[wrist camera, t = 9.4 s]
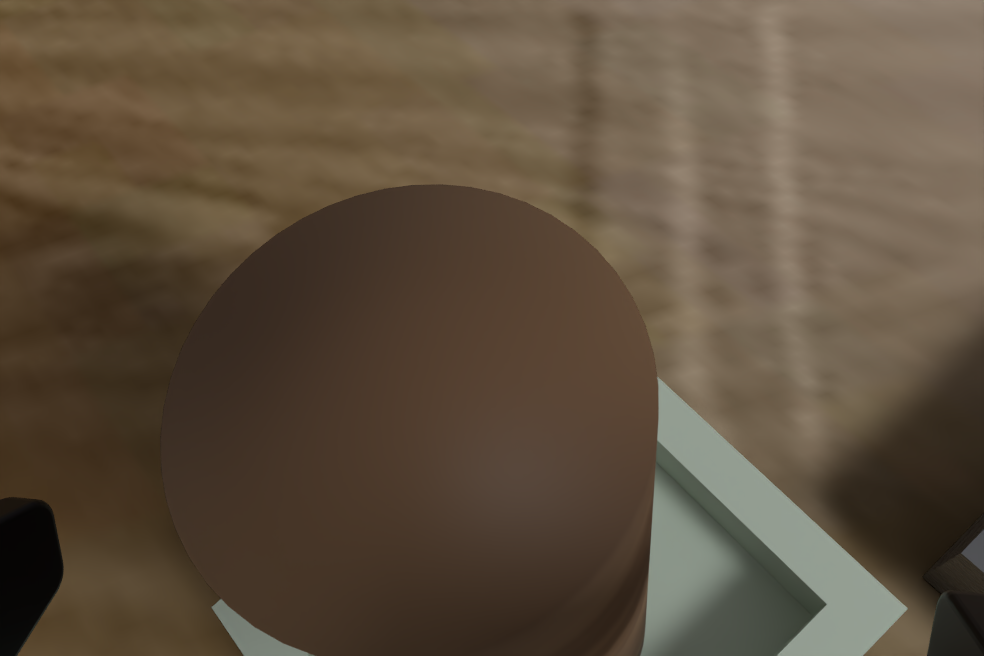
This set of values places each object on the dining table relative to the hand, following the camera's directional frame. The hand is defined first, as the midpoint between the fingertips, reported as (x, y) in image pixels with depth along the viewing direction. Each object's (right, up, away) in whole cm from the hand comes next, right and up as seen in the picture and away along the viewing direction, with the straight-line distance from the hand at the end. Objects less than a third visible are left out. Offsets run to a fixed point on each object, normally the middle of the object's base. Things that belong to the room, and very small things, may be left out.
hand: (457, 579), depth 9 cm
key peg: (+2, -4, +10) cm, 10 cm away
